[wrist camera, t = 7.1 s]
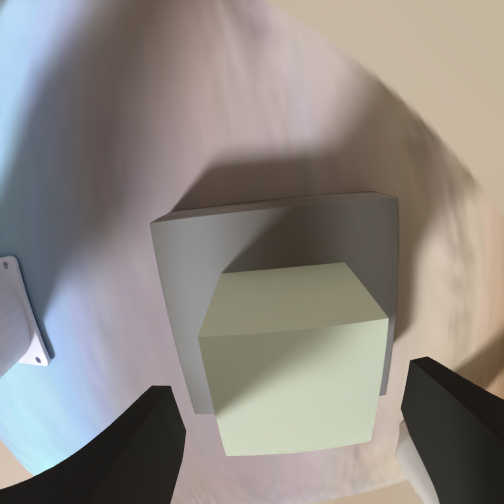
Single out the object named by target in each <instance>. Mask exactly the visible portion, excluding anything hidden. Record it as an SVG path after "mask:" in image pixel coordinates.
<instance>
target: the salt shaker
mask: <svg viewBox="0 0 504 504" xmlns="http://www.w3.org/2000/svg"><path fill="white" fill-rule="evenodd" d="M395 455H396V460H397V462H398V464H399V466H400V468H401V469H402V471H403V472H404V474H405V475H406V477H407V478H408V480H409V481H410V483H411V484H412V485H413V487H414V489H415V490H416V492H417V493H418V495H419V496H420V498H421V499H422V501H423V503H424V504H440V503H439V500H438V496H437V494H436V491H435V488H434V486H433V483H432V481H431V479H430V477H429V475H428V473H427V471H426V468H425V466H424V464H423V462H422V460H421V458H420V456H419V454H418V452H417V450H416V448H415V445H414V443H413V441H412V439H411V437H410V435H409V432H408V429H407V426H406V423H405V420H404V421H403V422H402V423H401V424H400V433H399V438H398V443H397V448H396V452H395Z"/></svg>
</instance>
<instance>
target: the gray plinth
mask: <svg viewBox="0 0 504 504" xmlns="http://www.w3.org/2000/svg"><path fill="white" fill-rule="evenodd" d="M150 228H151V233H152V239H153V245H154V250H155V255H156V260H157V266H158V271H159V275H160V280H161V285H162V290H163V294H164V299H165V303H166V308H167V312H168V316H169V321H170V325H171V329H172V333H173V337H174V341H175V345H176V349H177V352H178V356H179V360H180V364H181V367H182V371H183V374H184V378H185V382H186V385H187V388H188V392H189V395H190V399H191V402H192V405H193V408H194V412H195V414H215V411H214V407H213V403H212V399H211V395H210V391H209V386H208V382H207V378H206V373H205V369H204V364H203V360H202V355H201V350H200V346H199V341H198V335H199V332H200V329H201V326H202V324H203V321H204V318H205V315H206V312H207V310H208V307H209V304H210V301H211V299H212V296H213V293H214V291H215V288H216V285H217V282H218V280H219V277H220V274H221V273H233V272H244V271H256V270H267V269H278V268H289V267H300V266H310V265H321V264H331V263H341V262H345V263H346V264H347V266H348V267H349V268H350V269H351V270H352V272H353V273H354V274H355V275H356V277H357V278H358V279H359V280H360V282H361V283H362V284H363V286H364V287H365V288H366V289H367V291H368V292H369V293H370V294H371V296H372V297H373V298H374V300H375V301H376V302H377V303H378V305H379V306H380V307H381V309H382V310H383V311H384V313H385V314H386V315H387V317H388V318H389V321H388V332H387V342H386V351H385V359H384V366H383V374H382V381H381V387H380V393H379V396H382V395H386V391H387V385H388V378H389V371H390V364H391V356H392V348H393V338H394V328H395V317H396V303H397V286H398V257H399V219H398V198H396V197H392V196H389V195H385V194H381V193H378V192H374V191H373V192H358V193H344V194H331V195H319V196H307V197H296V198H285V199H275V200H265V201H256V202H247V203H238V204H229V205H221V206H213V207H204V208H197V209H189V210H182V211H174V212H169V213H167V214H166V215H164V216H162V217H160V218H158V219H156V220H155V221H153V222H151V223H150Z"/></svg>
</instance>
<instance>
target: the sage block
mask: <svg viewBox="0 0 504 504" xmlns="http://www.w3.org/2000/svg"><path fill="white" fill-rule="evenodd" d="M388 321H389V318H388V317H387V315H386V314H385V313H384V311H383V310H382V309H381V307H380V306H379V305H378V303H377V302H376V301H375V300H374V298H373V297H372V296H371V294H370V293H369V292H368V291H367V289H366V288H365V287H364V286H363V284H362V283H361V282H360V280H359V279H358V278H357V277H356V275H355V274H354V273H353V272H352V270H351V269H350V268H349V267H348V266H347V264H346V263H345V262H341V263H331V264H321V265H310V266H300V267H289V268H278V269H267V270H256V271H244V272H233V273H221V274H220V277H219V280H218V282H217V285H216V288H215V291H214V293H213V296H212V299H211V301H210V304H209V307H208V310H207V312H206V315H205V318H204V321H203V324H202V326H201V329H200V332H199V335H198V341H199V346H200V350H201V355H202V360H203V364H204V369H205V373H206V378H207V382H208V386H209V391H210V395H211V399H212V403H213V407H214V411H215V415H216V419H217V423H218V427H219V431H220V435H221V439H222V442H223V446H224V450H225V453H226V456H241V455H267V454H282V453H294V452H304V451H313V450H321V449H328V448H335V447H341V446H347V445H353V444H359V443H364V442H369V441H370V440H371V436H372V431H373V426H374V421H375V416H376V411H377V405H378V399H379V393H380V387H381V381H382V374H383V366H384V359H385V351H386V342H387V332H388Z"/></svg>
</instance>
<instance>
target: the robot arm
mask: <svg viewBox="0 0 504 504" xmlns="http://www.w3.org/2000/svg"><path fill="white" fill-rule="evenodd" d="M7 264H8V265H7ZM17 362H18V363H25V364H32V365H40V366H48V365H49V364H50V363H51V360H50V357H49V355H48V352H47V350H46V347H45V345H44V342H43V340H42V337H41V334H40V332H39V329H38V326H37V324H36V321H35V318H34V315H33V312H32V309H31V306H30V303H29V300H28V297H27V293H26V290H25V287H24V283H23V280H22V276H21V272H20V269H19V265H18V261H17V259H16V258H15V257H14V256H7V257H1V258H0V378H1V377H2V376H3V375H4V374H5V373H6V372H7V371H8V370H9V369H10V368H12V367H13V366H14V365H15V364H16V363H17ZM401 411H402V414H403V417H404V420H405V423H406V426H407V429H408V432H409V435H410V437H411V439H412V441H413V443H414V445H415V448H416V450H417V452H418V454H419V456H420V458H421V460H422V462H423V464H424V466H425V468H426V471H427V473H428V475H429V477H430V479H431V481H432V483H433V486H434V488H435V491H436V494H437V496H438V500H439V503H440V504H504V400H503V399H501V398H499V397H497V396H495V395H493V394H491V393H489V392H488V391H486V390H484V389H482V388H480V387H479V386H477V385H475V384H473V383H472V382H470V381H468V380H467V379H465V378H463V377H462V376H460V375H458V374H457V373H455V372H453V371H452V370H450V369H448V368H447V367H445V366H443V365H442V364H440V363H438V362H437V361H435V360H433V359H431V358H429V357H423V358H418V359H414V360H410V364H409V370H408V376H407V381H406V386H405V391H404V396H403V401H402V405H401ZM185 437H186V429H185V427H184V424H183V421H182V418H181V415H180V413H179V410H178V407H177V404H176V401H175V398H174V395H173V392H172V389H171V386H151V387H150V388H149V389H148V390H147V391H146V392H144V393H143V394H142V395H141V396H140V397H139V398H138V399H137V400H136V401H135V402H134V403H133V404H132V405H131V406H130V407H129V408H128V409H127V410H126V411H125V412H124V413H123V414H121V415H120V416H119V417H118V418H117V419H116V420H115V421H114V422H113V423H112V424H111V425H110V426H108V427H107V428H106V429H105V430H104V431H102V432H101V433H100V434H99V435H98V436H96V437H95V438H94V439H93V440H91V441H90V442H89V443H88V444H87V445H85V446H84V447H83V448H81V449H80V450H79V451H77V452H76V453H74V454H73V455H71V456H70V457H68V458H67V459H65V460H64V461H62V462H60V463H59V464H57V465H55V466H54V467H52V468H50V469H48V470H46V471H44V472H42V473H40V474H38V475H36V476H34V477H32V478H30V479H28V480H26V481H23V482H20V483H18V484H15V485H13V486H10V487H7V488H4V489H0V504H170V502H171V499H172V495H173V492H174V488H175V485H176V481H177V477H178V474H179V470H180V466H181V463H182V459H183V452H184V445H185Z"/></svg>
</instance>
